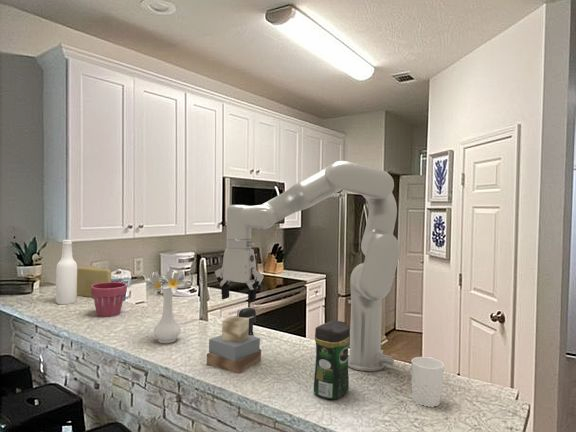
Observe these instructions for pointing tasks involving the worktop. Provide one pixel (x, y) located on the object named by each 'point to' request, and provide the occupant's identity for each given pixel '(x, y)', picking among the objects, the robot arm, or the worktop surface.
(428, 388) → the white cup
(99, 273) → the cheese
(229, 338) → the birch cube
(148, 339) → the worktop surface
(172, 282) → the flower vase
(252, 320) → the battery
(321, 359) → the coffee jar
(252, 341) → the tower top
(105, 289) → the plant pot
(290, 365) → the worktop surface
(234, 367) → the tower base
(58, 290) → the alcohol
